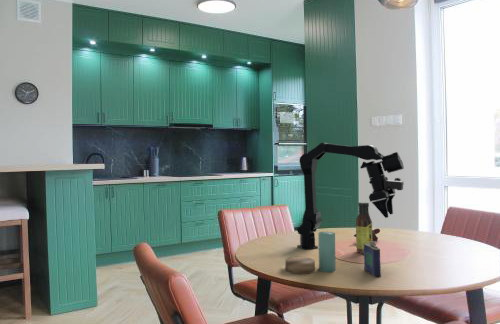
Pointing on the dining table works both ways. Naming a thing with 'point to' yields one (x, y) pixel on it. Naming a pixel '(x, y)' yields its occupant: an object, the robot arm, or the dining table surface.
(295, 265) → the stand
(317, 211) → the robot arm
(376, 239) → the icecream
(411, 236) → the dining table surface
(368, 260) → the flask
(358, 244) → the sauce bottle
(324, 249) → the teal upright cylinder
